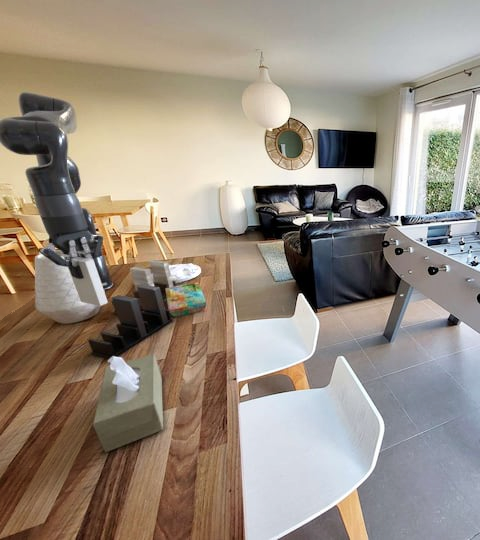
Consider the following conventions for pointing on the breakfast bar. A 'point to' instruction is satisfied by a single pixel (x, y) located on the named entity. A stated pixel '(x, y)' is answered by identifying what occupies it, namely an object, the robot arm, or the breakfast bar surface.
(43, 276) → the vase
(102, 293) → the white book
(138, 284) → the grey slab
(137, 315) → the grey rack
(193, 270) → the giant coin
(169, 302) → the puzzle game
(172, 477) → the breakfast bar surface
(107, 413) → the tissue box
